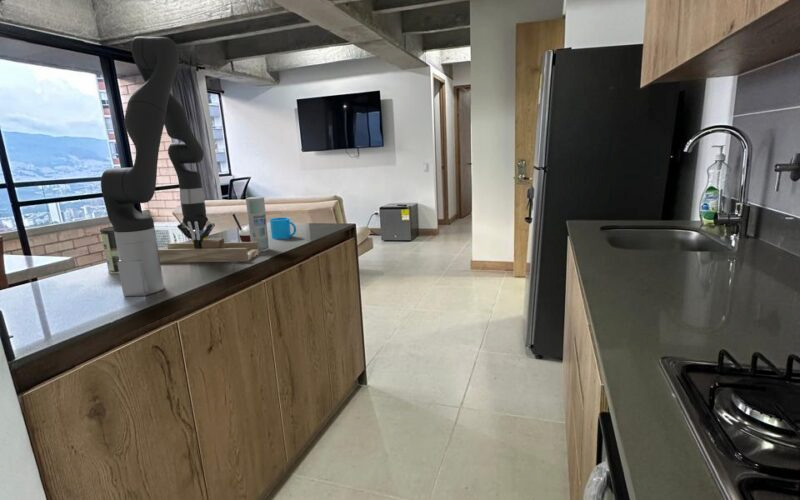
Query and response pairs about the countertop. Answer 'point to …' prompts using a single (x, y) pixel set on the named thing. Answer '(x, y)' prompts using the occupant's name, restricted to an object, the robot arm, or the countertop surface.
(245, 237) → the cocoa
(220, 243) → the walnut block
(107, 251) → the coffee can
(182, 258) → the frame
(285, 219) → the mug
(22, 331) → the countertop surface
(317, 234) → the countertop surface
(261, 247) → the spray can
